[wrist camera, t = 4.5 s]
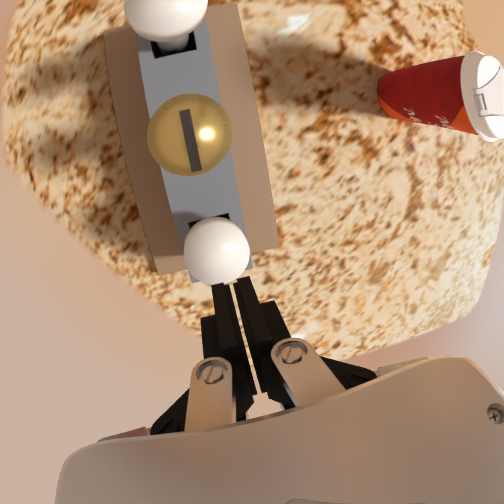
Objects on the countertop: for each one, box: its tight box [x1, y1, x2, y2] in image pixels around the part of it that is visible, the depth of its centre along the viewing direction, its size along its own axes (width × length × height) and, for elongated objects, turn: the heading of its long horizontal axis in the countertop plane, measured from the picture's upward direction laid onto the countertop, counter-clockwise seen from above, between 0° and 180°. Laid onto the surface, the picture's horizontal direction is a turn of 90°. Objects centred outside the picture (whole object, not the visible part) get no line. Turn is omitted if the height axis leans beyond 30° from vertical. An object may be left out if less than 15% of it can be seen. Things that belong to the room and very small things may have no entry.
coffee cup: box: [377, 50, 504, 142], centre depth 20 cm, size 8×8×15 cm
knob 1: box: [124, 0, 208, 56], centre depth 14 cm, size 4×4×9 cm
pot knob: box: [147, 93, 232, 176], centre depth 17 cm, size 4×4×10 cm
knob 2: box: [184, 215, 250, 285], centre depth 23 cm, size 4×4×9 cm
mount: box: [103, 4, 279, 283], centre depth 22 cm, size 26×13×7 cm, turn 10°
